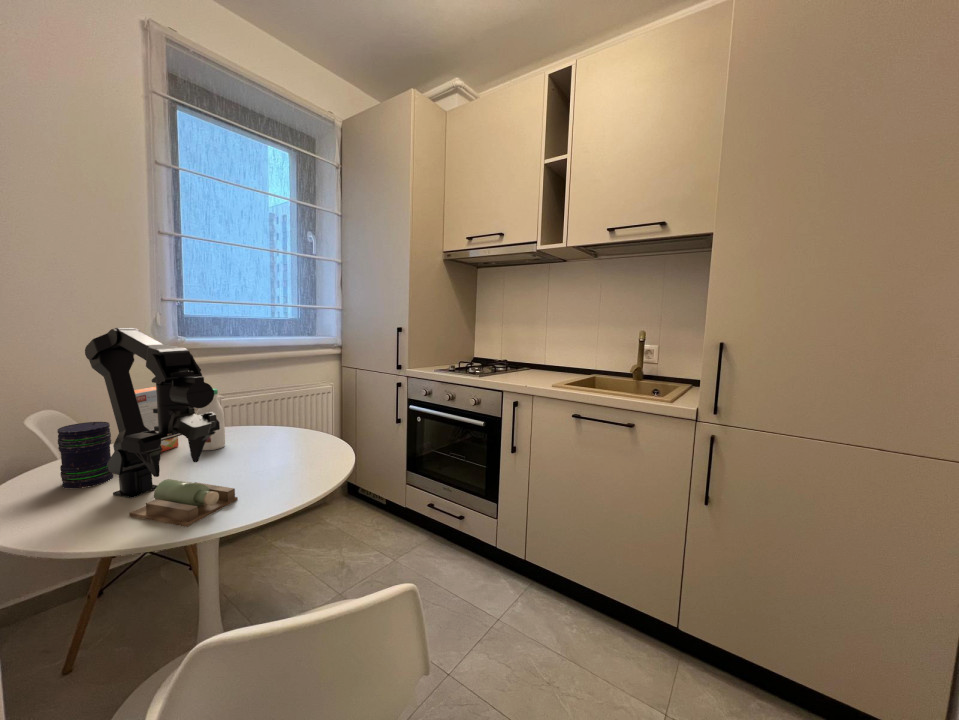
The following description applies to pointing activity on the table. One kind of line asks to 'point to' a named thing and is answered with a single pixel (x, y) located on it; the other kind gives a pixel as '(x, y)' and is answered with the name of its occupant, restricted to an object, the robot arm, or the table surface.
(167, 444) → the cracker box
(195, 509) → the walnut U-rest
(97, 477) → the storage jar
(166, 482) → the olive bottle
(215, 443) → the milk bottle
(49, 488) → the table surface
